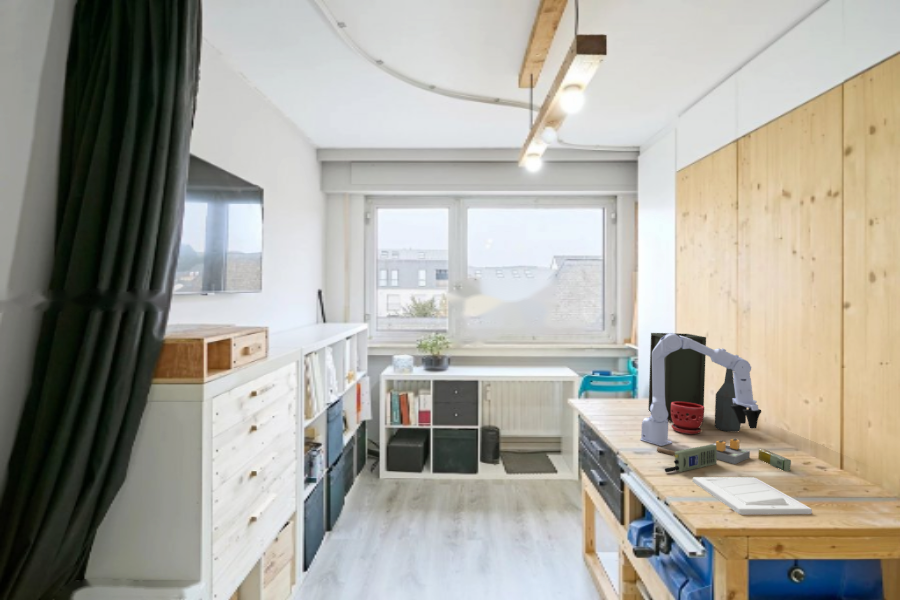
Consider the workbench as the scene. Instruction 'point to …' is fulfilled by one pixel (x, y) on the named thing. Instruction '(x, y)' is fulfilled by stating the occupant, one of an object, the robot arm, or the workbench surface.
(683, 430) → the plant pot
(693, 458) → the handheld radio
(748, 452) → the box
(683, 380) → the tall dark green cabinet
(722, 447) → the breaker
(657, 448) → the wooden dowel
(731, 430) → the bottle
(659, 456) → the workbench surface
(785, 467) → the medication box
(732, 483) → the vent cover
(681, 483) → the workbench surface
